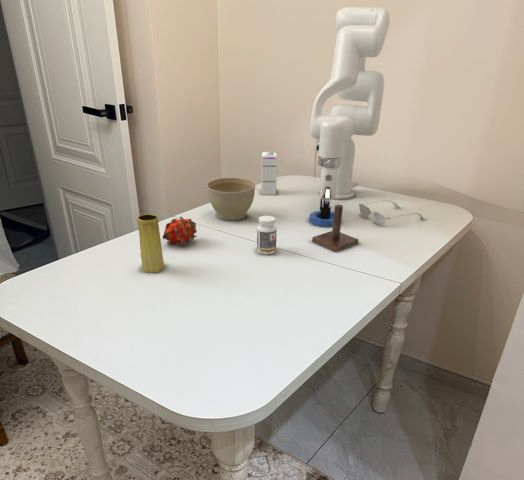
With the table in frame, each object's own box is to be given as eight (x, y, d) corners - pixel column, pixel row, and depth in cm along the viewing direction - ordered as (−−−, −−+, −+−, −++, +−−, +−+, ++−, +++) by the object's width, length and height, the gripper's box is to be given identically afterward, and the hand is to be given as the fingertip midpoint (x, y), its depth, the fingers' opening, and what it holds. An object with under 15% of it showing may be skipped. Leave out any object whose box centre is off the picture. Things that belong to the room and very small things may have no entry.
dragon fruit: (200, 243, 153) (168, 259, 148) (185, 222, 154) (152, 237, 149) (206, 228, 146) (173, 243, 140) (190, 206, 147) (156, 220, 141)
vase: (156, 261, 138) (150, 211, 130) (169, 268, 135) (164, 217, 127) (137, 267, 135) (130, 216, 127) (150, 275, 131) (144, 223, 123)
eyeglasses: (356, 213, 175) (358, 202, 172) (397, 207, 182) (398, 196, 179) (384, 228, 163) (386, 216, 161) (426, 220, 170) (428, 209, 168)
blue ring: (324, 214, 174) (324, 208, 172) (346, 222, 167) (347, 216, 166) (302, 220, 168) (303, 214, 167) (325, 229, 161) (325, 223, 160)
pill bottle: (279, 251, 146) (281, 218, 140) (266, 256, 142) (267, 223, 137) (265, 245, 149) (266, 213, 143) (252, 251, 146) (252, 218, 140)
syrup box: (276, 194, 191) (277, 155, 182) (260, 194, 191) (261, 155, 183) (276, 190, 195) (277, 152, 187) (261, 190, 195) (261, 151, 187)
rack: (334, 234, 158) (337, 198, 151) (358, 244, 152) (363, 207, 145) (311, 241, 153) (314, 204, 146) (335, 252, 146) (340, 213, 140)
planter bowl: (198, 216, 169) (196, 184, 163) (230, 205, 179) (230, 174, 173) (232, 228, 160) (231, 194, 154) (264, 216, 171) (265, 184, 165)
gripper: (342, 169, 153) (336, 223, 163) (339, 156, 167) (334, 206, 177) (318, 168, 153) (313, 222, 163) (317, 155, 168) (313, 205, 177)
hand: (324, 214), depth 170 cm, fingers open, 8 cm apart
